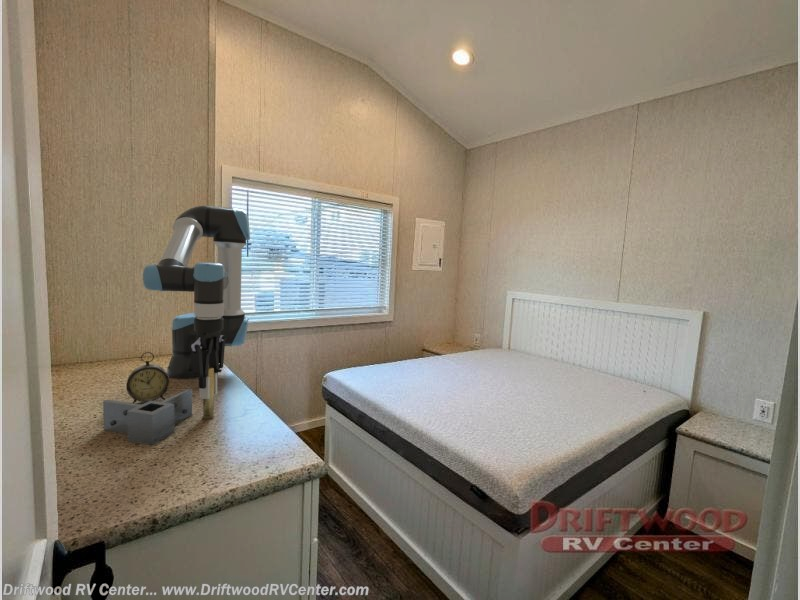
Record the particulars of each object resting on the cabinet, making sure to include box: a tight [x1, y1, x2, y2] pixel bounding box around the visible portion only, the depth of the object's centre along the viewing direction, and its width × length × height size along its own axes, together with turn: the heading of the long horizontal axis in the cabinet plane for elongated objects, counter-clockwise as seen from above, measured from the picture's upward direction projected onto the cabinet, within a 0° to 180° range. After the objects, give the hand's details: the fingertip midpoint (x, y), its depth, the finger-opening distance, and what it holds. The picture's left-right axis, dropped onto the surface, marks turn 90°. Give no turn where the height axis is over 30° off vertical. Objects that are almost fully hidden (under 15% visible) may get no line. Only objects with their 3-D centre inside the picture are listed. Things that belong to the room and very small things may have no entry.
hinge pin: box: [202, 366, 215, 420], centre depth 110 cm, size 3×3×15 cm
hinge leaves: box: [102, 388, 193, 446], centre depth 104 cm, size 18×18×8 cm
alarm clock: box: [125, 351, 170, 404], centre depth 118 cm, size 11×5×16 cm, turn 123°
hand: (208, 395), depth 111 cm, fingers closed on hinge pin, 3 cm apart
